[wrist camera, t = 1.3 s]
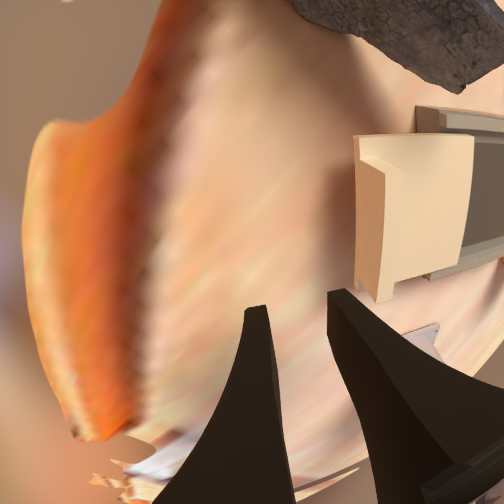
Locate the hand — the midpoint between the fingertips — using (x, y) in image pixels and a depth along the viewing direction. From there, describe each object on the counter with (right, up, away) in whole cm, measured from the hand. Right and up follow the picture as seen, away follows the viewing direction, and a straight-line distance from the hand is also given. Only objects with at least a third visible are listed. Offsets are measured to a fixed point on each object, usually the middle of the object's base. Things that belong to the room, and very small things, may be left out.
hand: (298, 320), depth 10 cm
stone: (+3, +17, +2) cm, 17 cm away
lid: (+8, +5, +6) cm, 11 cm away
